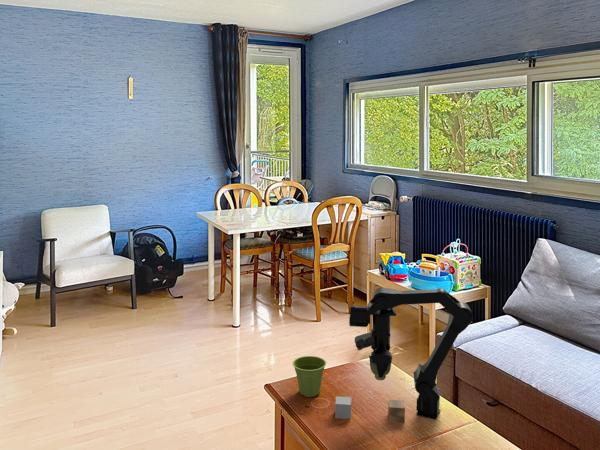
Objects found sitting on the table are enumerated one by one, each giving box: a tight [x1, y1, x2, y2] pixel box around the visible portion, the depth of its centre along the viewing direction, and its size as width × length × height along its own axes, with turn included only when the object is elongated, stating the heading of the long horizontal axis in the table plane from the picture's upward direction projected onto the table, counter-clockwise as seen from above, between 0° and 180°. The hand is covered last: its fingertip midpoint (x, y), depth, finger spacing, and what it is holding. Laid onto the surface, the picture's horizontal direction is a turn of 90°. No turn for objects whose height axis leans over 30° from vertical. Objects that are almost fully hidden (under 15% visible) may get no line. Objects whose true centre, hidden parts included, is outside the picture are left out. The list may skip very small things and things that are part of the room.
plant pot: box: [292, 355, 327, 398], centre depth 186 cm, size 12×12×11 cm
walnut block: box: [387, 399, 406, 423], centre depth 169 cm, size 5×5×5 cm
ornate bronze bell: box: [368, 354, 393, 381], centre depth 173 cm, size 8×7×8 cm
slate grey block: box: [334, 396, 352, 420], centre depth 172 cm, size 5×5×5 cm
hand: (380, 372), depth 173 cm, fingers closed on ornate bronze bell, 6 cm apart
